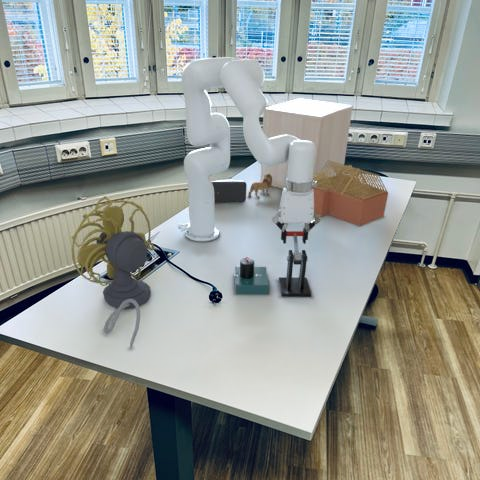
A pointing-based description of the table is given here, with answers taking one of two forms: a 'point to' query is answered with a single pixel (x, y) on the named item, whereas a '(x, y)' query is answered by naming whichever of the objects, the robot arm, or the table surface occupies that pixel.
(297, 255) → the toaster lever
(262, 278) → the dial panel
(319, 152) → the cabinet
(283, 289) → the black upright frame
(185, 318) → the table surface
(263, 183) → the lion figurine
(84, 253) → the electric fan
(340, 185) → the house
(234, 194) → the leaning round-cornered charcoal block
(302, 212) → the robot arm
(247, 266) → the knob
